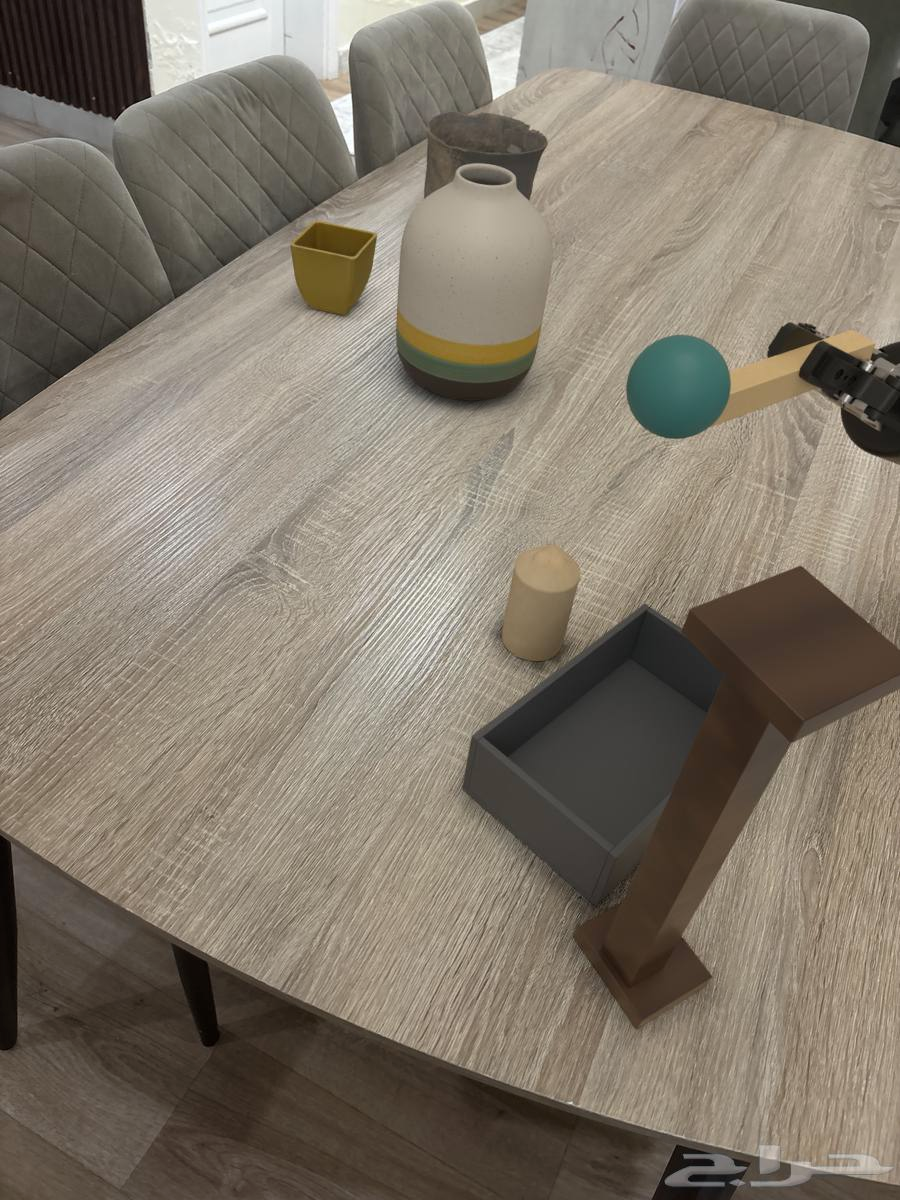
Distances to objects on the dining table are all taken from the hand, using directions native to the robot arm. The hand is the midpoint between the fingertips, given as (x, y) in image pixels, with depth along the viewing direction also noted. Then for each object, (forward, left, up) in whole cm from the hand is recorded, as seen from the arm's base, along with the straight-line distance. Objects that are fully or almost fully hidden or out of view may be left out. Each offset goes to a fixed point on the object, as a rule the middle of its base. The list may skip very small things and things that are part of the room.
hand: (796, 350), depth 51 cm
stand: (-11, +15, -36) cm, 40 cm away
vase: (+49, -29, -36) cm, 67 cm away
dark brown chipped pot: (+77, -61, -36) cm, 105 cm away
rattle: (+1, +3, -3) cm, 4 cm away
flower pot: (+72, -28, -36) cm, 85 cm away
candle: (+14, -2, -36) cm, 39 cm away
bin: (0, +3, -36) cm, 36 cm away
